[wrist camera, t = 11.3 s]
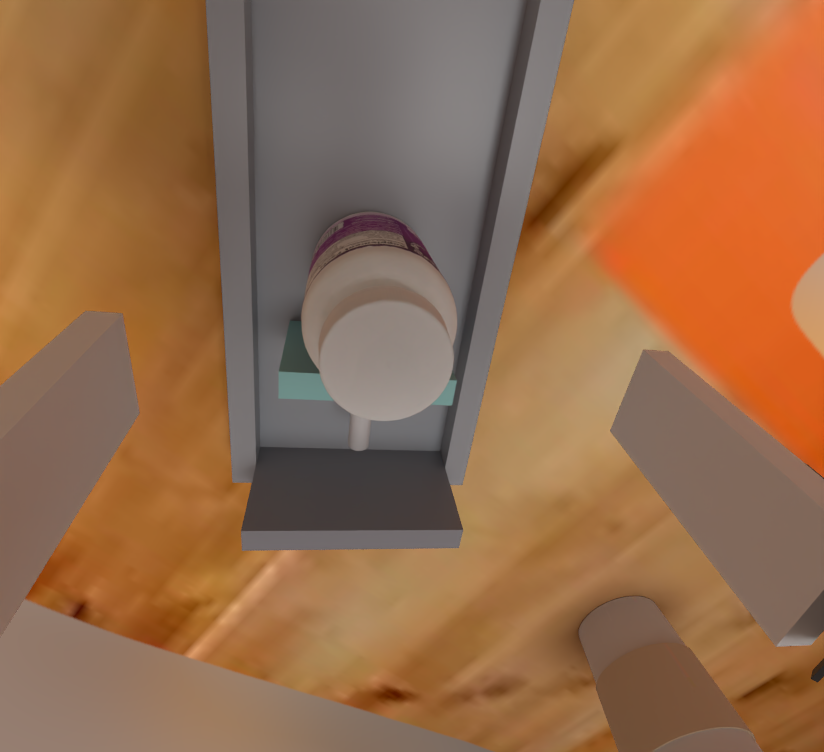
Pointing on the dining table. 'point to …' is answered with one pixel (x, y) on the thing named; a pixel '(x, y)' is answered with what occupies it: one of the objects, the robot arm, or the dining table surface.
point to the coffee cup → (656, 684)
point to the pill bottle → (378, 318)
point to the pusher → (305, 383)
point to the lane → (367, 192)
